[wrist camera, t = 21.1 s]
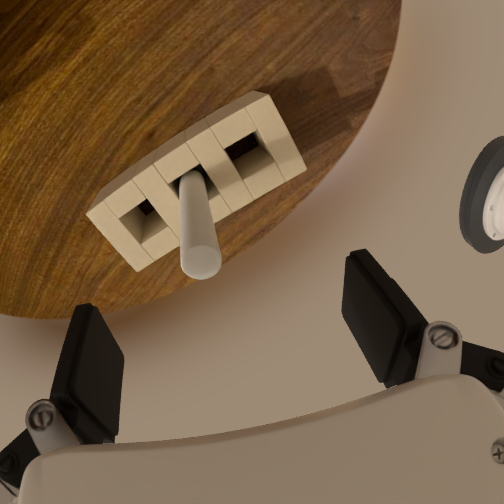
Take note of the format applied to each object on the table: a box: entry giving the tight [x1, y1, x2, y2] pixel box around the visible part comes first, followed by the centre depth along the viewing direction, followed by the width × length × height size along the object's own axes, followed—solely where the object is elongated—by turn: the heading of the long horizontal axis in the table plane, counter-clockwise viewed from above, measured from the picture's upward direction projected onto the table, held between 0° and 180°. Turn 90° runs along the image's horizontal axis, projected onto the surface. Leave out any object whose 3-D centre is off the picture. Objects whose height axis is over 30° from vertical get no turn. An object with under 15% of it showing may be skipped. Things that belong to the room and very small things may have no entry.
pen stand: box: [86, 90, 307, 272], centre depth 23 cm, size 15×6×5 cm, turn 119°
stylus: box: [179, 164, 222, 279], centre depth 19 cm, size 2×2×14 cm
